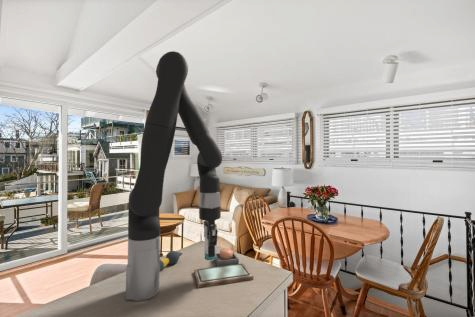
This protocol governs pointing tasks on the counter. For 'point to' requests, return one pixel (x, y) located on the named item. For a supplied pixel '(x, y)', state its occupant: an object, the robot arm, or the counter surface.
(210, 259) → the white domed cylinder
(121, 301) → the counter surface
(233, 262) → the button housing
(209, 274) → the framed mirror
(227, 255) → the button
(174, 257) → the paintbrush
